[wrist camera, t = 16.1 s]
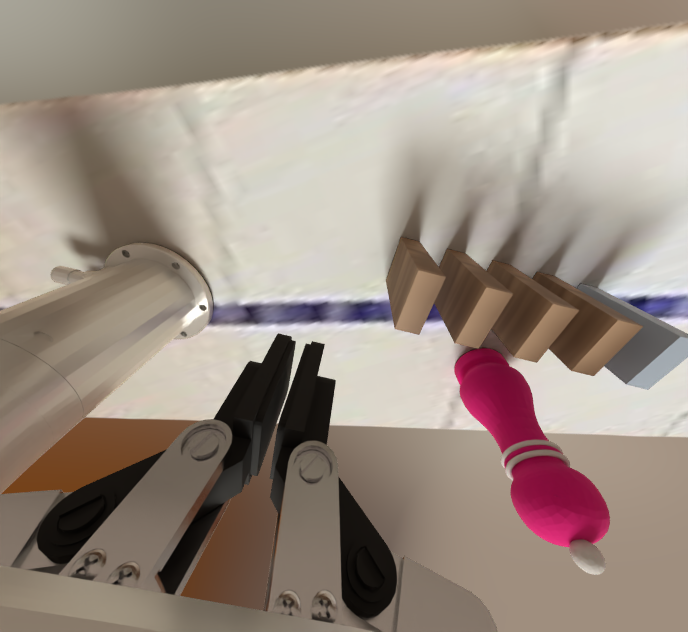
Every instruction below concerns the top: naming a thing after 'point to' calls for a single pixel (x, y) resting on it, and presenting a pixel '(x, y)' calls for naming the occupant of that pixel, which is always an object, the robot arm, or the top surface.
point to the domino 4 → (587, 329)
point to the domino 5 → (643, 344)
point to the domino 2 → (469, 299)
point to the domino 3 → (528, 314)
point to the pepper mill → (534, 460)
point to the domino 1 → (412, 285)
